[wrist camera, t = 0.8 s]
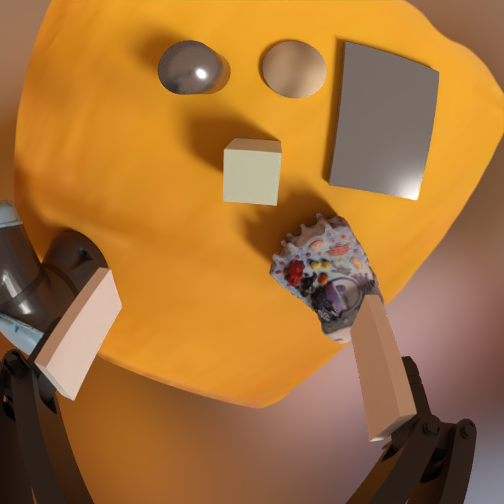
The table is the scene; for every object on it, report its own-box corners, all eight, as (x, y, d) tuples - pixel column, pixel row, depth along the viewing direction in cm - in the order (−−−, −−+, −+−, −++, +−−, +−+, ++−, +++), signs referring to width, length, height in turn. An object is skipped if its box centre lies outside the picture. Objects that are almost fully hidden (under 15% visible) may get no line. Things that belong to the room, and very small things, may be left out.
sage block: (233, 179, 37) (223, 201, 30) (235, 137, 34) (224, 149, 27) (276, 183, 37) (276, 205, 30) (280, 141, 33) (281, 153, 27)
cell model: (339, 359, 40) (253, 287, 34) (333, 313, 49) (260, 243, 43) (410, 320, 34) (341, 225, 28) (391, 276, 43) (327, 191, 37)
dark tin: (184, 94, 31) (157, 96, 23) (186, 53, 27) (159, 44, 20) (229, 94, 30) (214, 93, 23) (231, 52, 27) (217, 38, 20)
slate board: (327, 182, 36) (329, 185, 35) (343, 43, 25) (345, 41, 24) (413, 197, 35) (416, 200, 34) (435, 72, 24) (439, 71, 23)
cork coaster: (260, 95, 31) (260, 95, 30) (264, 40, 26) (264, 38, 25) (322, 102, 30) (324, 102, 29) (327, 47, 26) (328, 45, 25)
